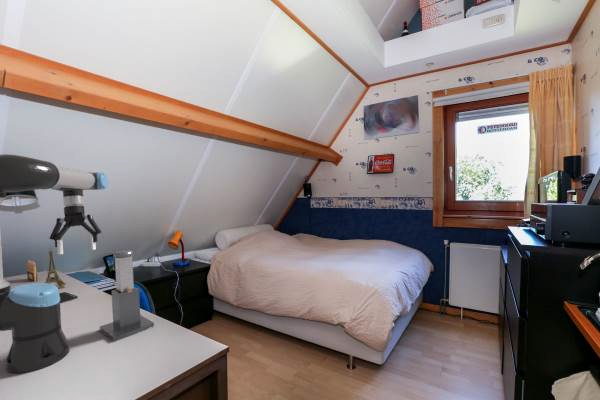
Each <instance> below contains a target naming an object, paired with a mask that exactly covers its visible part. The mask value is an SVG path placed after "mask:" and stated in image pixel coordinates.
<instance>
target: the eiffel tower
mask: <svg viewBox="0 0 600 400" xmlns="http://www.w3.org/2000/svg"><path fill="white" fill-rule="evenodd" d="M49 249H50V250H48V254H49V257H48V258H49V260H48V261H49V262H48V270H47V271H46V272H47V276H46V279H45V282H44V283H48V284H52V283H55V284H57V286H58V287H57V288H58V290H62V289H65V288H66V284H67V283H66V282H64V280H62V279H61V278H60V275H58V269H57V268H56V265H55V264H56V263H55V260H54V254H53V253H54V250H53V249H52V245H51V243H50V248H49ZM51 274H53V275H54V276H52V277H51Z"/></svg>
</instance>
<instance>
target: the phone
mask: <svg viewBox="0 0 600 400" xmlns="http://www.w3.org/2000/svg"><path fill="white" fill-rule="evenodd" d="M59 296H60V304H63V303H66V302H69V301H73V300H77V299H78V295H75V294H71V293H69V292H66V291H63V292H59Z"/></svg>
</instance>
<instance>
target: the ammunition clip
mask: <svg viewBox="0 0 600 400" xmlns="http://www.w3.org/2000/svg"><path fill="white" fill-rule="evenodd" d="M26 276H27V280H28V281H31V282H33V283H34V282H35V283H36V282H38V273H37V267H36V262H35V261H33V260H30V259H28V261H27V271H26Z"/></svg>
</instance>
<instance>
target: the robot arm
mask: <svg viewBox="0 0 600 400" xmlns="http://www.w3.org/2000/svg"><path fill="white" fill-rule="evenodd" d="M108 186H109V178H108V175H107V174H106V173H105V172H97V171H96V172H91V171H84V170H80V169H74V168H69V167H63V166H57V165H55V164H54V163H53V162H50V161H46V160H42V159H36V158H33V157H27V156H24V155H17V154H7V153H6V154H5V153H4V154H0V204H1V203H2V202H3V201H5V200H6V198H7V193H19V192H26V191H34V190H35V191H36V190H50V189H51V190H53V191H59V192H62V198H63V199H62V200H63V201H62V202H63V206H64V207H63V212H64V214H63V215H64V217H62V218H61V217H59V218H58V217H57V218H56V222H55V225H54V228H52V232H51V234H50V236H49V239H50V240H52V241H54V247H55V248H57V249H56V250H57V256H59V255H64V247H63V246H64V245H63V244H64V243H63V242H64V241H63V239H62V237H64V235H65V234H66V233H67V231H68V230H69V229H70V228H72V227H80V226H81V227H82V228H84V230H86V231H87V232H88V233H90V234H91V235H90V236H89V239H90V249H91V250H90V251H95V250H97V244H96V243H97V242H98V235H99V234H101V233H102V230H101V229H100V227H99V226H98V224H97V223H96V222H95V220H94V217H93V214H86V215H85V212H86V211H85V206H84V205H85V203H84V202H85V200H84V191H90V190H91V191H95V190H96V191H97V190H98V191H100V190H105V189H107V188H108ZM85 220H87V222H89V224H90V225H89V224H88V223H87V222H85ZM63 223H64V225H63ZM1 232H2V228H1V226H0V332H6V331H11V336H12V337H11V339H12V340H11V341H12V342H11V345H10V348H9V351H8V354H7V357H6V360H5V370H6V371H7V372H8V373H11V374H23V373H29V372H34V371H37V370H41V369H44V368H46V367H48V366H50V365H53V364H55V363H57V362H59V361H60V360H63V358H65V357H66V356H67V355H68V354H69V353H70V342H69V341H68V339H67V337H66V334H65V333H64V331H63V329H62V318H61V317H62V315H61V314H62V313H61V303H60V296H59V293H60V292H59V290H60V289H58V287H57V285H55V284H52V283H50V284H48V283H45V282H35V283H34V282H33V283H26V284H25V283H24V284H21V285H17V286H13V288H11V283H10V282H8V281H7V280H5V279H4V268H3V247H2V233H1Z"/></svg>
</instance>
